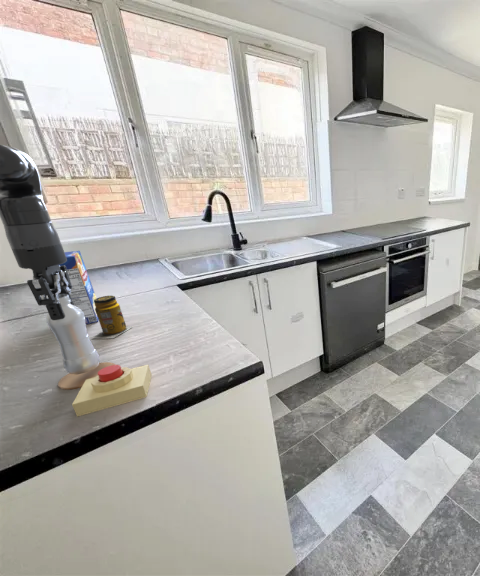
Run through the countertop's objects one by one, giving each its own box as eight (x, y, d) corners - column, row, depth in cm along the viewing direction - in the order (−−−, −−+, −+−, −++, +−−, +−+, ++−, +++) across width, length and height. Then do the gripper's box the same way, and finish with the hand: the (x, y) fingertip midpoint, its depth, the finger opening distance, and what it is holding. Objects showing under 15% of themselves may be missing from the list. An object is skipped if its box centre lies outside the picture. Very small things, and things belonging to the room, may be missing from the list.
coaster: (51, 395, 72) (50, 393, 72) (67, 371, 81) (66, 369, 81) (111, 380, 77) (110, 378, 77) (120, 359, 86) (119, 358, 86)
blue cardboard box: (74, 316, 115) (50, 253, 107) (101, 311, 119) (79, 250, 111) (69, 328, 106) (42, 260, 98) (97, 322, 110) (74, 256, 102)
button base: (77, 416, 65) (68, 397, 63) (90, 390, 73) (83, 372, 72) (146, 397, 71) (140, 378, 69) (151, 375, 79) (146, 358, 77)
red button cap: (98, 384, 68) (95, 376, 67) (102, 375, 71) (100, 367, 70) (121, 379, 70) (118, 371, 69) (124, 370, 73) (122, 362, 72)
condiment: (133, 326, 106) (123, 294, 102) (113, 338, 98) (101, 303, 94) (112, 327, 106) (101, 294, 102) (90, 339, 98) (77, 304, 94)
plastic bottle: (60, 379, 75) (27, 303, 68) (81, 363, 81) (53, 292, 74) (90, 376, 75) (60, 301, 69) (108, 361, 82) (83, 290, 75)
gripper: (27, 240, 72) (53, 307, 77) (-7, 252, 60) (28, 329, 65) (70, 237, 75) (92, 301, 81) (47, 247, 63) (75, 321, 69)
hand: (63, 313), depth 73 cm, fingers closed on plastic bottle, 6 cm apart
